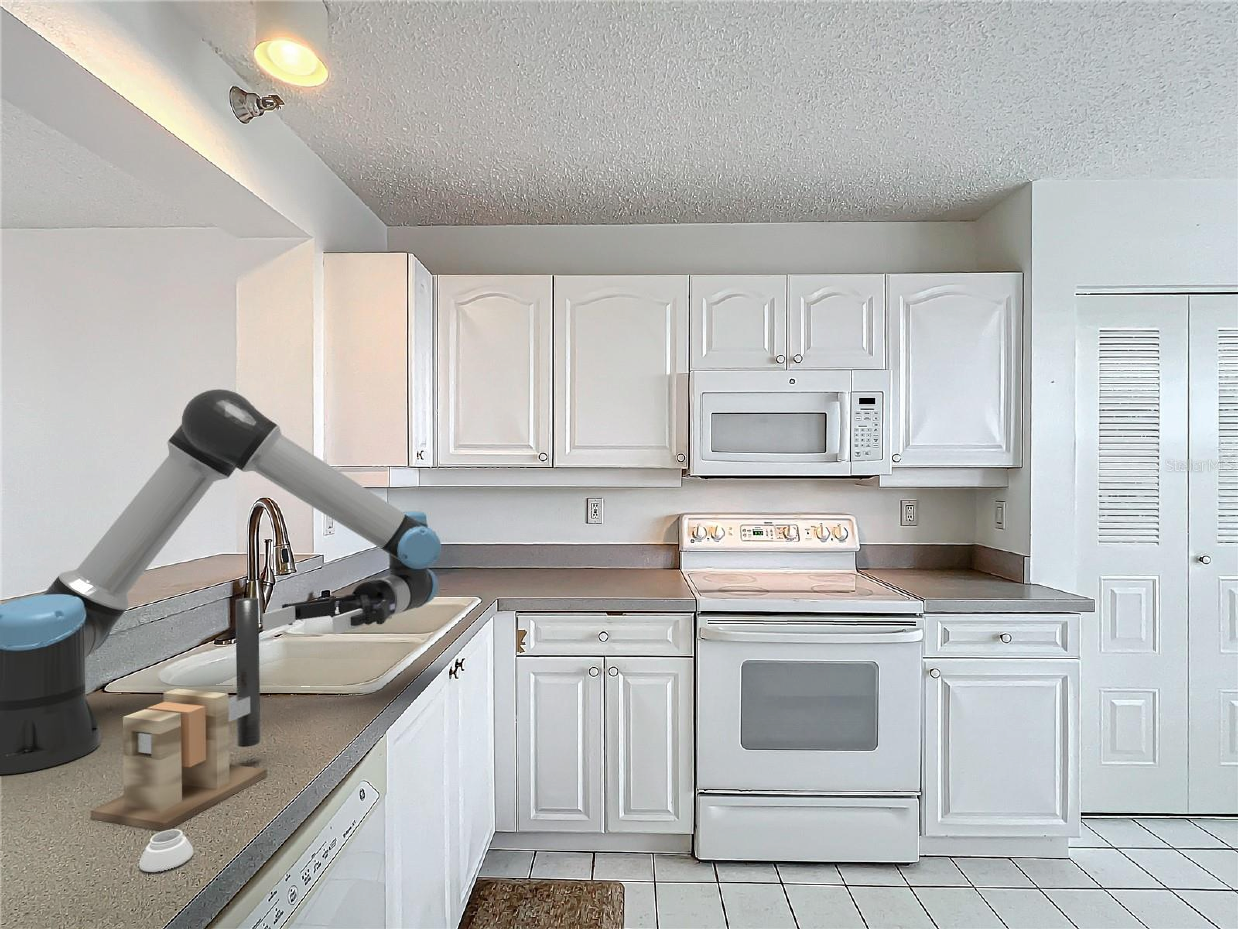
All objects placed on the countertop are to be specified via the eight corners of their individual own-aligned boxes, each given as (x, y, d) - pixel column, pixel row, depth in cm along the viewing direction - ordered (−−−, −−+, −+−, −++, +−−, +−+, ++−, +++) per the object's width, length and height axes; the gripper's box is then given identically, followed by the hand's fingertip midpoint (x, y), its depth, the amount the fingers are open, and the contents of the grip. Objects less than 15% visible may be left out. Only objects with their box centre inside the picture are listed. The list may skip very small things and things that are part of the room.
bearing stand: (90, 818, 91) (89, 713, 91) (199, 767, 106) (198, 677, 106) (165, 831, 87) (163, 722, 87) (266, 776, 102) (265, 683, 102)
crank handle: (136, 790, 92) (134, 622, 92) (248, 738, 109) (246, 597, 109) (154, 793, 91) (152, 623, 91) (265, 740, 108) (263, 598, 108)
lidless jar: (199, 848, 83) (150, 854, 82) (198, 822, 83) (149, 828, 82) (184, 872, 79) (131, 878, 77) (183, 844, 79) (131, 851, 77)
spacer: (147, 761, 95) (147, 707, 95) (164, 754, 98) (164, 701, 98) (189, 767, 93) (188, 712, 93) (206, 759, 96) (205, 706, 96)
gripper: (439, 621, 133) (366, 651, 113) (324, 616, 141) (237, 643, 120) (437, 580, 133) (364, 603, 113) (323, 577, 141) (235, 598, 120)
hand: (298, 624), depth 117 cm, fingers open, 13 cm apart
